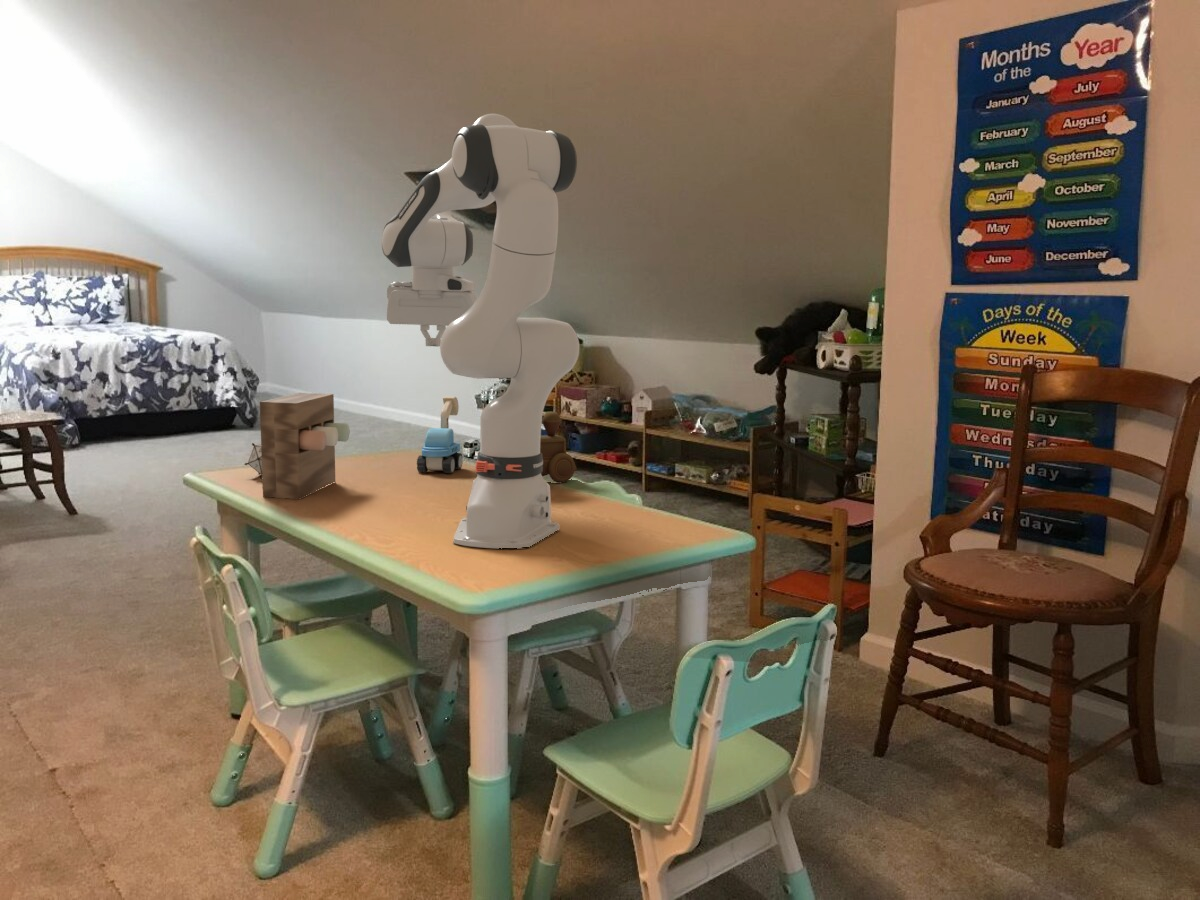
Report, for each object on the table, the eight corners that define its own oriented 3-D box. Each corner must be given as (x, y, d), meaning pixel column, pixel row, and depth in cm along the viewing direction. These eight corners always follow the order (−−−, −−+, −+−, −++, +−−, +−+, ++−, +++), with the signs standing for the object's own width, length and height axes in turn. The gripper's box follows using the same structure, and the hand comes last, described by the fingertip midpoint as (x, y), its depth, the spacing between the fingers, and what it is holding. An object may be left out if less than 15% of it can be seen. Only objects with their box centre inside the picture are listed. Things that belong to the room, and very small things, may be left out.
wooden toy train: (503, 490, 217) (503, 415, 214) (480, 481, 226) (480, 409, 224) (580, 482, 228) (581, 411, 225) (555, 473, 237) (556, 405, 234)
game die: (267, 490, 229) (277, 452, 233) (288, 482, 224) (298, 443, 228) (233, 475, 223) (244, 436, 227) (254, 466, 218) (265, 427, 222)
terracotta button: (326, 448, 206) (326, 429, 205) (318, 451, 202) (317, 432, 201) (299, 447, 207) (299, 428, 206) (290, 450, 203) (290, 431, 202)
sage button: (349, 440, 217) (349, 422, 217) (342, 442, 213) (341, 424, 213) (324, 438, 218) (323, 421, 218) (316, 441, 214) (315, 423, 214)
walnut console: (335, 482, 221) (333, 394, 217) (299, 499, 203) (296, 403, 200) (301, 480, 222) (299, 392, 218) (263, 497, 204) (259, 401, 201)
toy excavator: (471, 463, 248) (471, 396, 245) (449, 476, 232) (449, 403, 229) (438, 462, 249) (438, 394, 246) (415, 474, 233) (414, 402, 230)
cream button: (338, 444, 212) (338, 426, 211) (330, 447, 208) (330, 428, 207) (312, 443, 212) (311, 424, 212) (303, 445, 209) (303, 427, 208)
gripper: (381, 281, 211) (382, 345, 214) (473, 283, 208) (473, 348, 211) (392, 281, 217) (392, 344, 220) (481, 283, 214) (481, 346, 217)
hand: (433, 346), depth 215 cm, fingers closed
